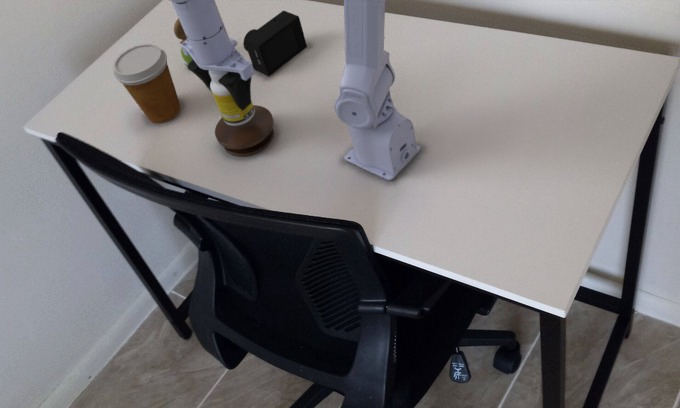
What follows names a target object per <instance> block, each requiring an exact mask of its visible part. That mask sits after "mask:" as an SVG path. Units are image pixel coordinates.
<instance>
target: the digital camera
mask: <svg viewBox="0 0 680 408" xmlns="http://www.w3.org/2000/svg"><path fill="white" fill-rule="evenodd" d="M242 44H243V48H244V50H245V51H246V52H247V53H248V55H249V60H250V61H251V62H250V63H252V64H253V67H254V71H256V72H258V73H260V74H262V75H264V76H266V77H268V78H269V77H271V76H272V75H273V74H275V72H277V71H278V70H279V69H281V68H282V67H283V66H285V65H286V64H288V63H289V62H290V61H291V60H293V58H295V57H296V56H297V55H299V54H300V53H301V52H303V51H304V50H305V49H306V48H308V45H307V41H306V37H305V34H304V30H303V25H302V22H301V19H300V16H299V15H296V14H295V13H291V12H289V11H286V10H282V11H281V12H279V13H277V15H275V16H274V17H273V18H271V19H270V20H268V21H267V22H266V23H264V24H263V25H261V26H260V27H259V28H254V29H253V28H252V29H250V30H249V31H247V33H245V36H244V38H243V43H242Z"/></svg>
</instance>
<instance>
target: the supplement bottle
mask: <svg viewBox="0 0 680 408" xmlns="http://www.w3.org/2000/svg"><path fill="white" fill-rule="evenodd" d="M226 73H228V72H226V71H213V70H209V74H210V77H211V79H212V81H211V83H210V88H211V91H212V93H211V94H212V96H213V99H214V101H215V104H216V106H217V108H218V110H219V113H220V116H221V118H223V120H224V122H225V123H226V124H228V125H232V126H237V125H242V124H245V123H246V122H248V121H249V120H251V118H252V117H253V115H254V112H255V110H254V107H253V105H254V103H253V101H252V100H251V104H249V105H248V106H247V107H246V108H245V109H244V110H242V109H240V108H239V107H238V106H237V104H236V103H235V101H234V99H233V97H232V95H231V94H230V93H229V91H228V90H227V89H226V88H225V87H224V86H223V85H222V84H220V83H219V82H218V80H219V79H220V78H222V77H223V76H224V75H225V74H226ZM211 91H210V92H211Z"/></svg>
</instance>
